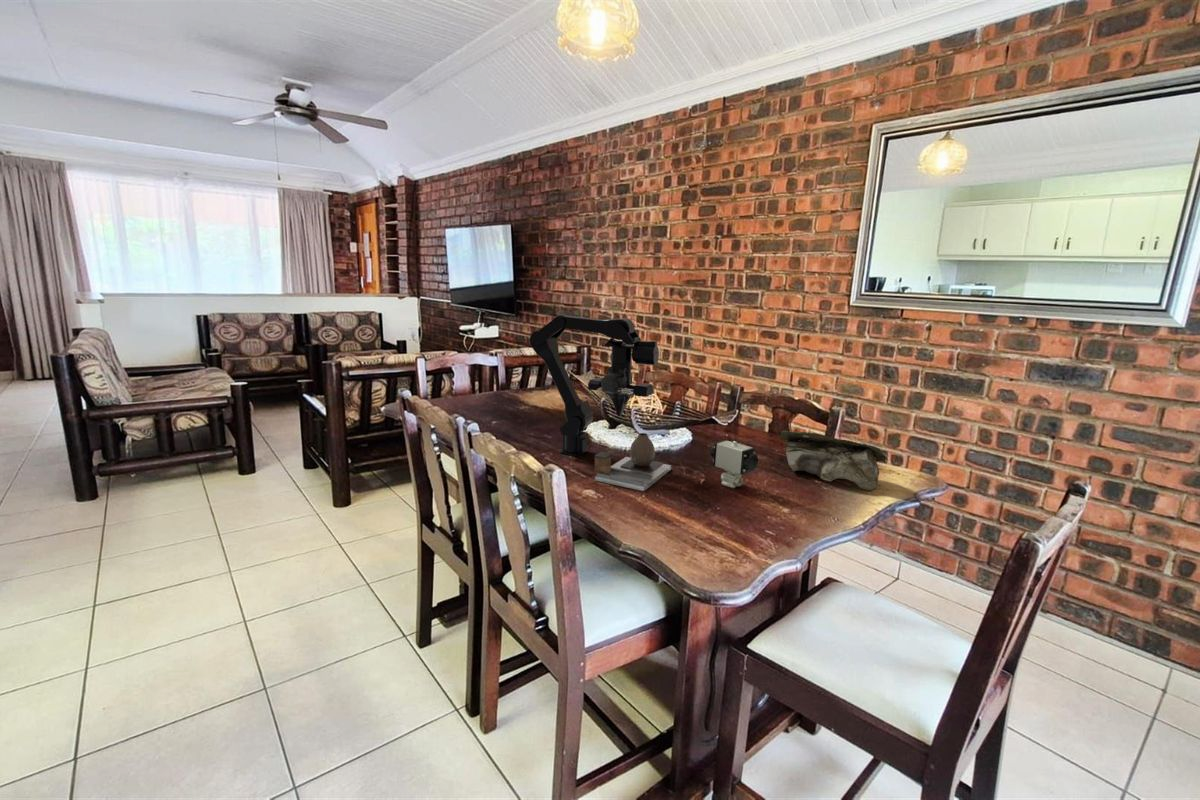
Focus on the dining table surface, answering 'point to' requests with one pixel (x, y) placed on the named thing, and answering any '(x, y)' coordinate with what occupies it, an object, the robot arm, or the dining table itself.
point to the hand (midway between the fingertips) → (619, 415)
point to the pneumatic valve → (733, 461)
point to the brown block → (603, 463)
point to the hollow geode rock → (833, 458)
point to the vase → (642, 450)
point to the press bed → (633, 474)
